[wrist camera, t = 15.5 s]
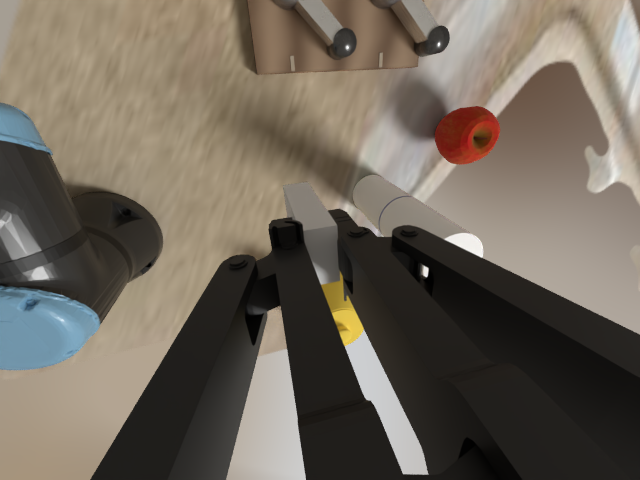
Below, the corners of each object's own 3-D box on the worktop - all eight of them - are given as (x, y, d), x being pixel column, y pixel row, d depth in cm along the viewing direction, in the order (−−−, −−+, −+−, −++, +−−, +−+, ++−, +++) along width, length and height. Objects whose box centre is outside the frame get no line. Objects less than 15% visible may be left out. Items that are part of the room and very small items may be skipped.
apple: (440, 165, 53) (480, 180, 43) (410, 138, 49) (447, 148, 40) (472, 124, 50) (522, 131, 41) (443, 94, 47) (491, 93, 37)
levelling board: (257, 74, 40) (257, 72, 37) (239, -60, 34) (237, -77, 30) (411, 67, 44) (424, 65, 41) (421, -55, 38) (437, -69, 34)
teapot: (257, 286, 57) (258, 337, 45) (310, 232, 54) (326, 271, 42) (325, 328, 66) (341, 379, 54) (373, 283, 62) (402, 328, 51)
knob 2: (362, -12, 36) (373, -23, 33) (385, -44, 35) (400, -59, 32) (418, 65, 42) (433, 62, 38) (440, 39, 41) (457, 34, 38)
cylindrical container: (354, 175, 50) (430, 235, 28) (391, 174, 51) (491, 230, 30) (351, 212, 53) (417, 292, 32) (386, 210, 55) (472, 285, 33)
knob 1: (261, -12, 34) (262, -25, 31) (283, -46, 33) (287, -63, 30) (334, 69, 40) (342, 66, 36) (355, 42, 39) (365, 37, 36)
